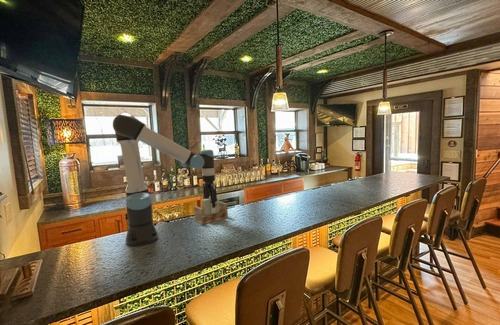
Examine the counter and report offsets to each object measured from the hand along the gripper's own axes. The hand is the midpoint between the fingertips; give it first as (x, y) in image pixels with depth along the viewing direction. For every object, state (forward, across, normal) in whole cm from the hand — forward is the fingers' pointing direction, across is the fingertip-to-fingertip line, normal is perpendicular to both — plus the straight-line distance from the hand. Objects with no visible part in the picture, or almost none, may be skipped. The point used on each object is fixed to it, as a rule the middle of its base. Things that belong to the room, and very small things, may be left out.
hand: (210, 211), depth 156 cm
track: (+5, 0, 0) cm, 5 cm away
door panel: (+4, 0, 0) cm, 4 cm away
